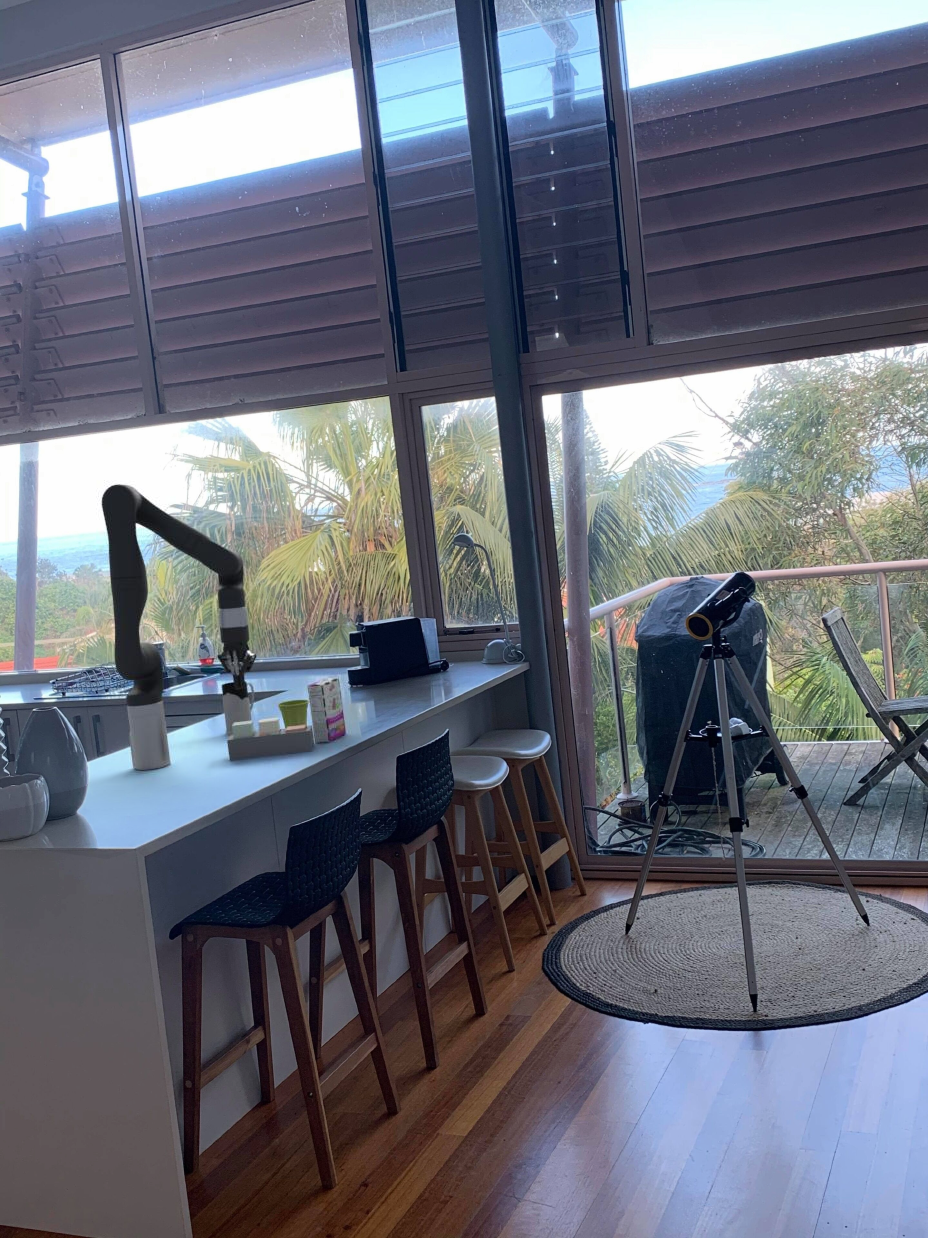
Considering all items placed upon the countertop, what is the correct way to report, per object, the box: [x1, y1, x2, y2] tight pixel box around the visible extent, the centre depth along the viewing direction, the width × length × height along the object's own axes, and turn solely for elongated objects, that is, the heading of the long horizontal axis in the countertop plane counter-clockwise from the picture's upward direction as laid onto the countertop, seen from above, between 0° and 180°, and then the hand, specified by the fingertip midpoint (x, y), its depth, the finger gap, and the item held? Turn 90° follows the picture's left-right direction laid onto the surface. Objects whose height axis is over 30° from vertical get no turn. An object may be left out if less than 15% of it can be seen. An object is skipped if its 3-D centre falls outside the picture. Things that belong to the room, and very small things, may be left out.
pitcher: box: [221, 681, 255, 736], centre depth 349 cm, size 9×14×15 cm, turn 158°
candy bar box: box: [307, 677, 347, 744], centre depth 319 cm, size 11×5×16 cm, turn 161°
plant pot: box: [277, 699, 310, 729], centre depth 338 cm, size 9×9×9 cm
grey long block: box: [226, 724, 315, 762], centre depth 307 cm, size 22×8×6 cm, turn 94°
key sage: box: [232, 719, 255, 739], centre depth 307 cm, size 5×5×5 cm
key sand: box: [257, 716, 281, 735], centre depth 307 cm, size 5×5×5 cm
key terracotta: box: [286, 725, 306, 733], centre depth 308 cm, size 5×5×5 cm
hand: (239, 688), depth 306 cm, fingers closed
